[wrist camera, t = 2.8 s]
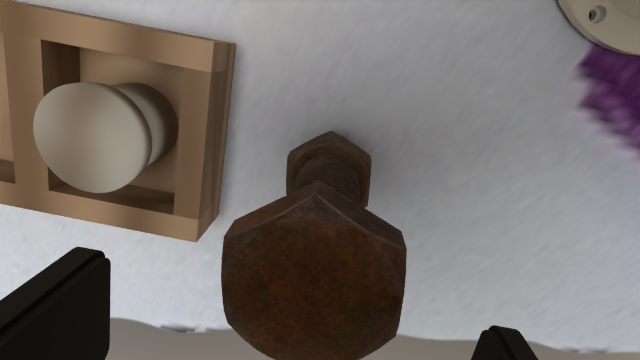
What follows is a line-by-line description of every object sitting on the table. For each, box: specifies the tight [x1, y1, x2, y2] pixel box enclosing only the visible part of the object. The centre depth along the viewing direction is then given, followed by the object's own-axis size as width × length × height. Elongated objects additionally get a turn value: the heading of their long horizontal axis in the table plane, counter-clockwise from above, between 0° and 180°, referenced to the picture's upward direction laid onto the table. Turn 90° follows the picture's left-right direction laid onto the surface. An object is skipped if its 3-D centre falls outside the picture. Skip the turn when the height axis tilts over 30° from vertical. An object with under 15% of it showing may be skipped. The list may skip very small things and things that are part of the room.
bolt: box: [221, 131, 407, 360], centre depth 18 cm, size 6×5×15 cm
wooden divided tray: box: [0, 0, 236, 242], centre depth 22 cm, size 20×12×6 cm, turn 80°
